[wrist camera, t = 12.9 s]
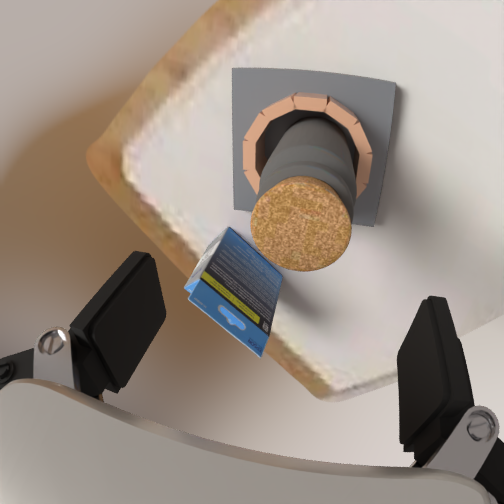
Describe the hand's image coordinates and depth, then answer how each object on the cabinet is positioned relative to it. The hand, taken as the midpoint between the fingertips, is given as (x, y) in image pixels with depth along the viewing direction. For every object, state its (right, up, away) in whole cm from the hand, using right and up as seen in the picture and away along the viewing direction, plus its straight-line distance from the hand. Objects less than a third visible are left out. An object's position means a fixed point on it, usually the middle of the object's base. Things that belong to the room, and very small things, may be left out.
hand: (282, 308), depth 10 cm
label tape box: (-2, +1, +27) cm, 27 cm away
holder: (+4, +12, +17) cm, 22 cm away
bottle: (+5, +11, +16) cm, 20 cm away
